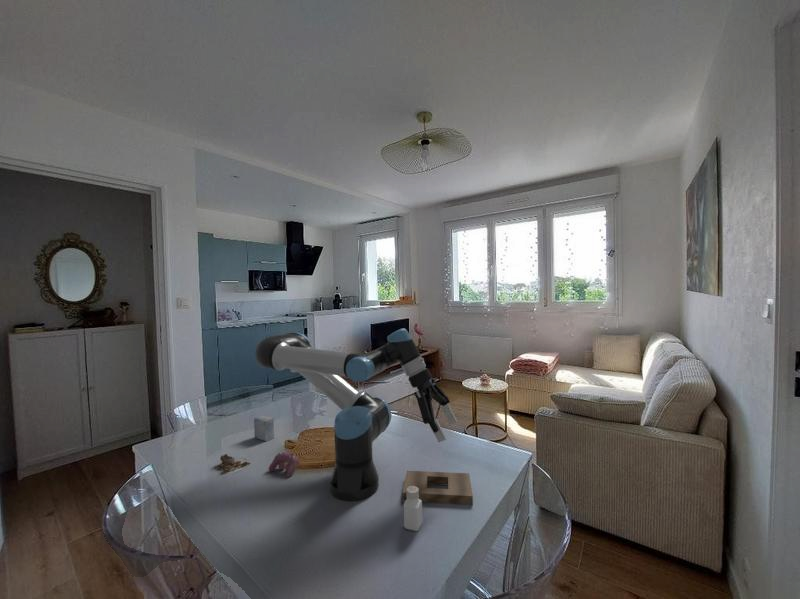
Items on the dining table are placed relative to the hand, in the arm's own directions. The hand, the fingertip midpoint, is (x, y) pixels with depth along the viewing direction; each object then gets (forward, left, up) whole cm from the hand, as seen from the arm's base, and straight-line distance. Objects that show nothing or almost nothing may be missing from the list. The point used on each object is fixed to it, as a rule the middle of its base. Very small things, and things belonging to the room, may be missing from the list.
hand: (448, 431), depth 106 cm
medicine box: (-79, +25, -16) cm, 84 cm away
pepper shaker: (-10, -23, -15) cm, 30 cm away
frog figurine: (-78, +1, -16) cm, 79 cm away
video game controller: (-57, 0, -16) cm, 59 cm away
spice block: (-4, -7, -15) cm, 17 cm away
